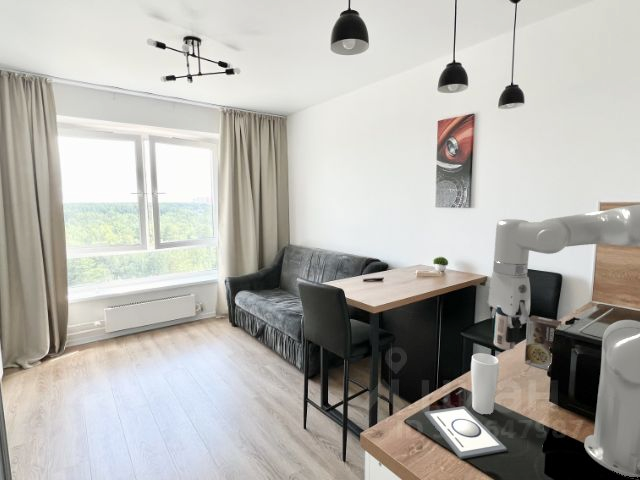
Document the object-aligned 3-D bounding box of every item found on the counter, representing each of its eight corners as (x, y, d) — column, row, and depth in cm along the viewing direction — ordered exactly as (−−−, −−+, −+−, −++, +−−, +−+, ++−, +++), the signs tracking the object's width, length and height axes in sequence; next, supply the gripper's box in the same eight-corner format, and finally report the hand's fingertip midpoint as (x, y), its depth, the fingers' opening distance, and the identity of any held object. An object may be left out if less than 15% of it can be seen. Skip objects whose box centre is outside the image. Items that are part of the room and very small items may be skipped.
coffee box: (559, 365, 119) (562, 321, 117) (554, 372, 114) (558, 326, 112) (529, 357, 125) (532, 314, 123) (523, 363, 121) (526, 319, 119)
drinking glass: (499, 419, 91) (502, 365, 89) (472, 416, 92) (474, 363, 90) (492, 403, 98) (495, 354, 96) (466, 401, 99) (469, 352, 97)
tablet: (506, 450, 80) (506, 447, 80) (460, 459, 78) (460, 456, 77) (463, 408, 96) (464, 405, 96) (424, 414, 94) (424, 411, 93)
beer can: (517, 351, 87) (520, 306, 85) (496, 350, 88) (500, 304, 86) (510, 343, 91) (514, 300, 90) (491, 342, 92) (494, 298, 91)
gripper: (550, 276, 79) (543, 351, 81) (501, 261, 95) (496, 324, 98) (521, 277, 78) (514, 353, 80) (476, 262, 94) (472, 325, 97)
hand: (504, 336), depth 89 cm, fingers closed on beer can, 4 cm apart
